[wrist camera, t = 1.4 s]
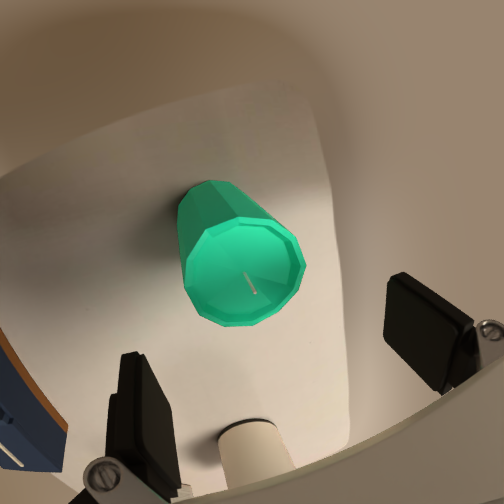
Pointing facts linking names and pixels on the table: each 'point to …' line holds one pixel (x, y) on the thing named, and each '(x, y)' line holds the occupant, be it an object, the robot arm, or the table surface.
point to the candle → (235, 256)
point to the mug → (252, 452)
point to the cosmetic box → (183, 494)
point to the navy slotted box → (27, 420)
